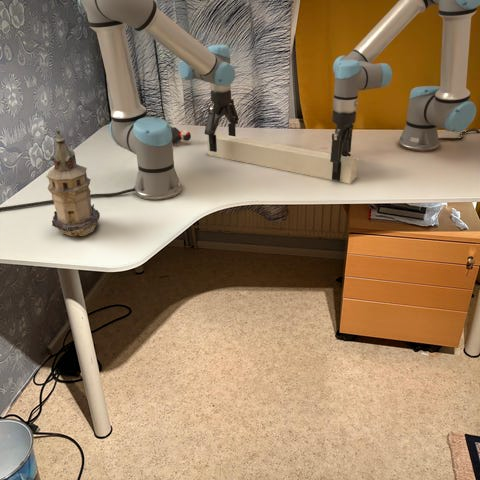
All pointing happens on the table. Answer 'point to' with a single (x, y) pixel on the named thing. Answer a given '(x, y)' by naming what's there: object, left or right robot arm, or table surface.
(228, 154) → the bar
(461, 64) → the right robot arm
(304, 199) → the table surface
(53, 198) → the miniature building
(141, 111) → the left robot arm
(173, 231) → the table surface
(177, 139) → the toy
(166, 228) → the table surface
